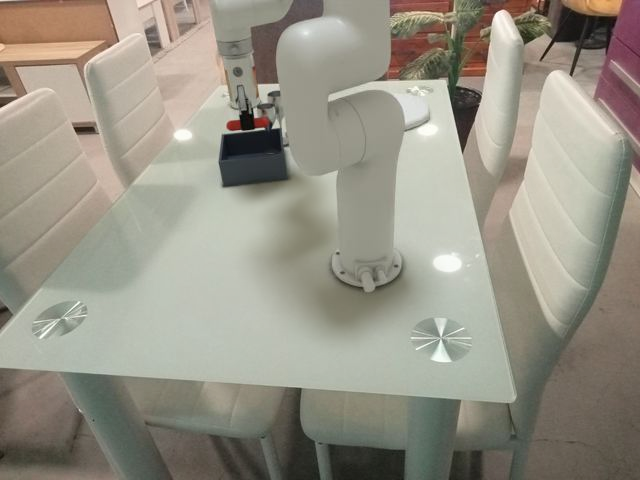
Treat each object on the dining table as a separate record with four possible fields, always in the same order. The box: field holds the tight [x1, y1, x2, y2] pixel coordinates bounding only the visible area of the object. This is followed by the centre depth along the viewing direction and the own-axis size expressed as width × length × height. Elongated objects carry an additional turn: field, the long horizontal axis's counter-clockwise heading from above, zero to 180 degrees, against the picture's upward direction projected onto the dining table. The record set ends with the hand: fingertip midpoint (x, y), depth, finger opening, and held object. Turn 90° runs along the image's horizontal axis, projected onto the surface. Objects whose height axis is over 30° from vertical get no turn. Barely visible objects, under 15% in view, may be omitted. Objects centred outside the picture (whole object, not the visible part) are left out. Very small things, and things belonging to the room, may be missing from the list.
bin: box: [217, 127, 288, 187], centre depth 117 cm, size 15×15×6 cm
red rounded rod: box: [225, 117, 269, 132], centre depth 112 cm, size 10×2×2 cm, turn 96°
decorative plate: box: [389, 92, 430, 131], centre depth 138 cm, size 25×4×25 cm
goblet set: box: [256, 89, 289, 154], centre depth 129 cm, size 28×6×13 cm, turn 153°
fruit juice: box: [222, 53, 261, 110], centre depth 146 cm, size 9×9×28 cm
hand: (248, 126), depth 113 cm, fingers closed on red rounded rod, 2 cm apart
